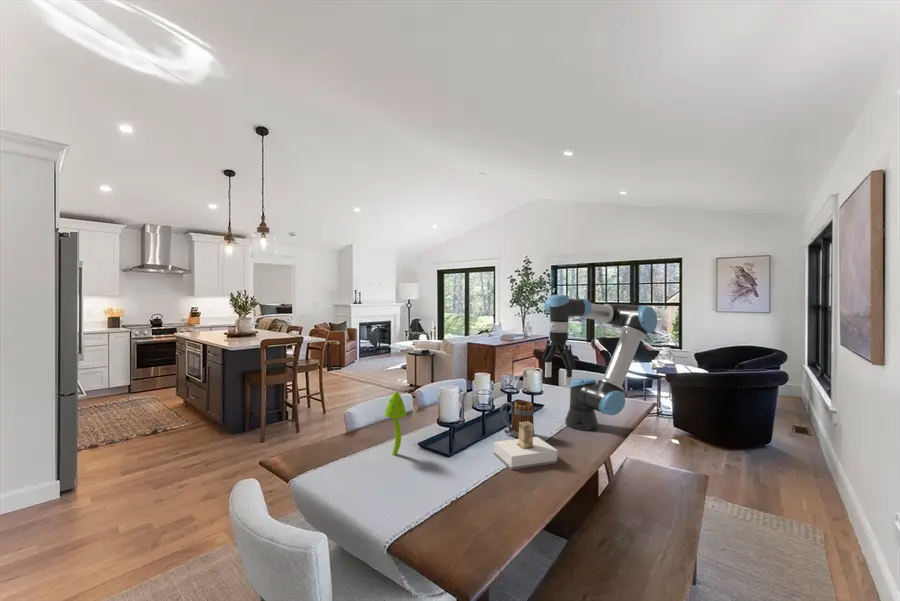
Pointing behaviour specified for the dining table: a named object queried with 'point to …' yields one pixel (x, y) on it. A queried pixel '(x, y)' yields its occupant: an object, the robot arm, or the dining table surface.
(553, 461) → the block
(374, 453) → the dining table surface
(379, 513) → the dining table surface
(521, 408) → the mug
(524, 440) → the pin
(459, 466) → the dining table surface
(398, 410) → the mushroom
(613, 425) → the dining table surface
